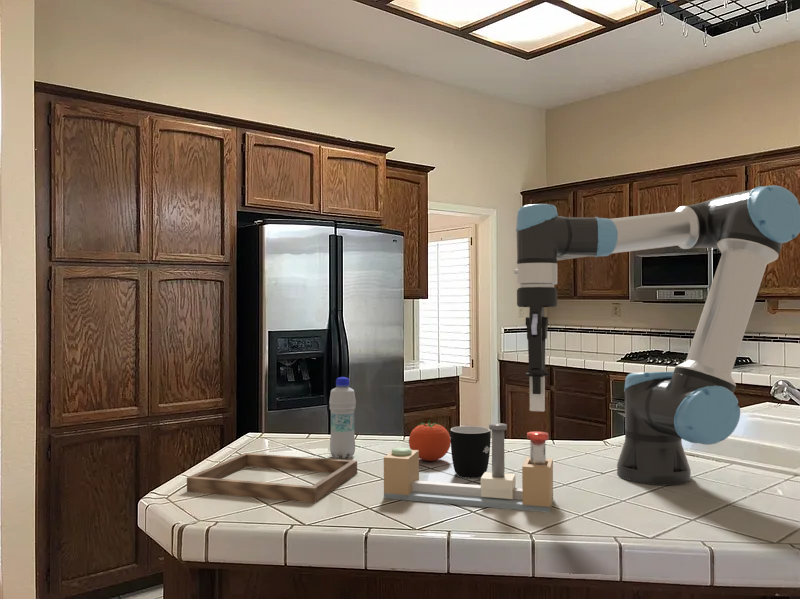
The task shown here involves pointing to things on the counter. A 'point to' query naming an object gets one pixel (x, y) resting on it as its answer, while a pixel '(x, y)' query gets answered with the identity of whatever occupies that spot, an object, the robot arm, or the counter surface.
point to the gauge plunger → (537, 447)
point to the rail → (465, 485)
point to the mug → (470, 450)
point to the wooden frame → (215, 485)
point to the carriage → (497, 468)
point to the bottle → (342, 419)
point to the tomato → (430, 441)
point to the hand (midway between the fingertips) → (537, 410)
